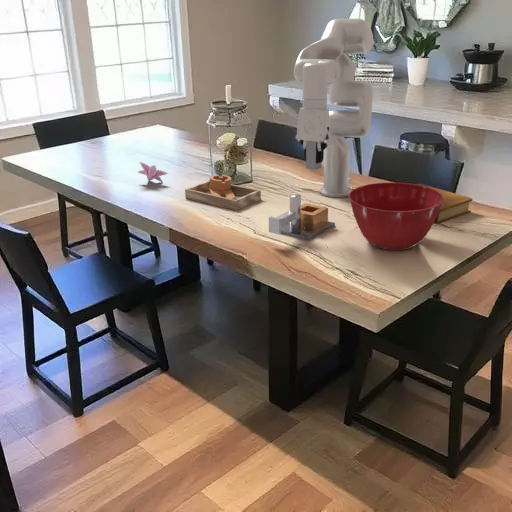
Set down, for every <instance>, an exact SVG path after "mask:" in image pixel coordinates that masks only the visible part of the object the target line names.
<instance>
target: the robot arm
mask: <svg viewBox="0 0 512 512" xmlns="http://www.w3.org/2000/svg"><path fill="white" fill-rule="evenodd" d="M373 46H374V35H373V31H372V29H371V27H370V25H369V23H368V22H367V21H365V19H362V18H335V19H332V20H330V21H329V22H328V23H327V24H326V26H325V29H324V30H323V33H322V35H321V38H320V40H318V41H316V42H313V43H312V44H309V45H308V46H306V47H305V48H303V49H302V50H300V53H299V54H298V57H297V59H296V61H295V63H294V68H293V77H294V79H295V80H296V81H297V83H300V84H302V98H300V99H299V103H300V104H302V105H301V106H302V107H299V112H298V117H297V127H296V128H297V129H296V135H295V140H297V142H299V143H300V145H301V146H302V149H303V150H304V151H303V152H304V155H303V156H304V162H306V141H312V142H317V148H318V151H316V163H321V162H323V186H321V187H320V188H319V194H320V195H322V196H325V197H330V198H342V197H343V198H344V197H347V196H348V197H349V193H350V192H351V191H352V190H353V189H352V188H351V187H349V185H350V184H351V183H352V182H353V181H354V180H353V178H352V177H350V176H349V175H350V155H351V153H350V152H351V151H350V150H351V148H350V145H349V143H348V141H347V140H346V138H365V137H367V136H368V135H369V133H370V128H371V123H372V121H371V120H372V111H373V100H374V99H373V98H374V88H373V85H372V84H371V82H370V81H367V80H355V73H356V72H355V70H356V67H355V63H354V62H353V61H352V59H351V58H350V57H349V56H348V55H349V54H350V55H352V54H354V55H356V54H357V55H359V54H360V55H364V54H369V53H370V52H371V51H372V48H373ZM328 85H329V93H328ZM328 95H329V96H328ZM328 97H329V98H328ZM328 99H329V102H330V104H331V105H332V106H334V107H340V108H342V107H343V108H357V109H358V110H349V109H348V110H347V109H345V110H344V109H332V110H329V108H328Z"/></svg>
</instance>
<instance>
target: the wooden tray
mask: <svg viewBox="0 0 512 512" xmlns="http://www.w3.org/2000/svg"><path fill="white" fill-rule="evenodd" d="M209 185H210V179H209V180H206V181H203V182H202V183H198V184H196V185H194V186H190V187H188V188H185V189H184V195H185V199H188V200H192V201H196V202H200V203H204V204H208V205H213V206H216V205H215V203H216V202H217V204H218V206H217V207H221V208H226V209H229V210H233V211H237V210H240V209H243V208H244V207H246V206H249V205H252V204H253V203H255V202H258V201H260V200H262V197H261V196H262V192H261V190H260V189H256V188H250V187H247V186H241V185H238V184H237V185H236V184H232V183H231V190H232V192H233V194H234V196H241V197H239V198H235V200H234V199H229V198H225V197H221V196H216V195H212V194H209V193H207V192H209Z"/></svg>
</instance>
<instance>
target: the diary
mask: <svg viewBox="0 0 512 512" xmlns="http://www.w3.org/2000/svg"><path fill="white" fill-rule="evenodd" d="M416 185H421V186H425V187H429V188H432V189H434V190H437V191H438V192H440V193H441V194H442V195H443V197H444V200H443V202H442V203H441V206H440V209H439V212H438V214H437V217H436V219H435V221H434V223H433V224H435V225H440V224H442V223H445V222H448V221H451V220H453V219H455V218H458V217H461V216H464V215H467V214H469V213H472V211H471V210H469V207H470V202H472V201H473V198H472V197H469V196H465V195H462V194H458V193H455V192H451V191H448V190H444V189H441V188H437V187H433V186H431V185H426V184H423V183H417V184H416Z"/></svg>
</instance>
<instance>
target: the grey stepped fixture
mask: <svg viewBox="0 0 512 512" xmlns="http://www.w3.org/2000/svg"><path fill="white" fill-rule="evenodd" d="M328 218H329V208H328V207H326V206H322V205H316V204H312V203H307V202H305V203H303V204H302V195H301V194H297V193H292V194H289V210H287V211H286V212H284V213H282V214H280V215H278V216H272V215H270V216H268V232H269V233H271V234H275V235H277V236H278V235H281V234H282V235H285V236H290V237H293V238H297V239H301V240H304V241H309V242H310V241H311V240H313V239H314V238H316V237H318V236H320V235H321V234H323V233H324V232H327V231H328V230H330V229H332V228H334V227H335V226H336V223H335V222H333V221H329V219H328Z"/></svg>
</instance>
